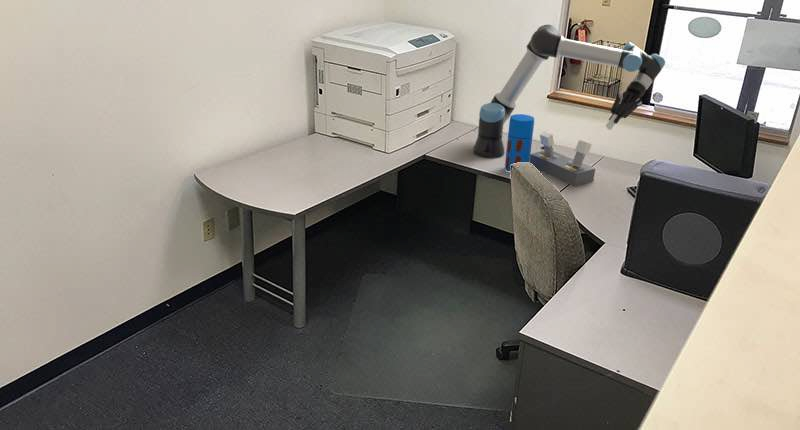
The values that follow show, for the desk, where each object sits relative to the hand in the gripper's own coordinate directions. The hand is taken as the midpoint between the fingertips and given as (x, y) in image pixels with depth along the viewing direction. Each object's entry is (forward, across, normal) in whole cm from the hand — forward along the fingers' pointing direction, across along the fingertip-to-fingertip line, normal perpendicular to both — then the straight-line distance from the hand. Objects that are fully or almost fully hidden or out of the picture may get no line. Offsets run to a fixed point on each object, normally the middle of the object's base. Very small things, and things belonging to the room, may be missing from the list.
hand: (608, 127), depth 276 cm
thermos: (+37, +23, +6) cm, 44 cm away
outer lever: (+22, +2, 0) cm, 22 cm away
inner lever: (+22, +18, 0) cm, 28 cm away
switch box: (+27, +10, -4) cm, 29 cm away
